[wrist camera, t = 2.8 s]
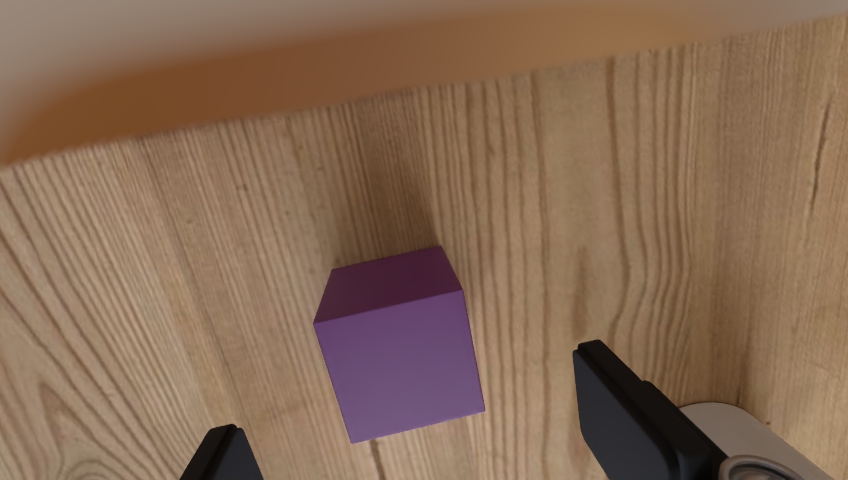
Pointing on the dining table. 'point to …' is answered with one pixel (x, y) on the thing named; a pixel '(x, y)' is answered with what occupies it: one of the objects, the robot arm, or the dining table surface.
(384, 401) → the cube
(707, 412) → the mug
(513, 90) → the dining table surface
